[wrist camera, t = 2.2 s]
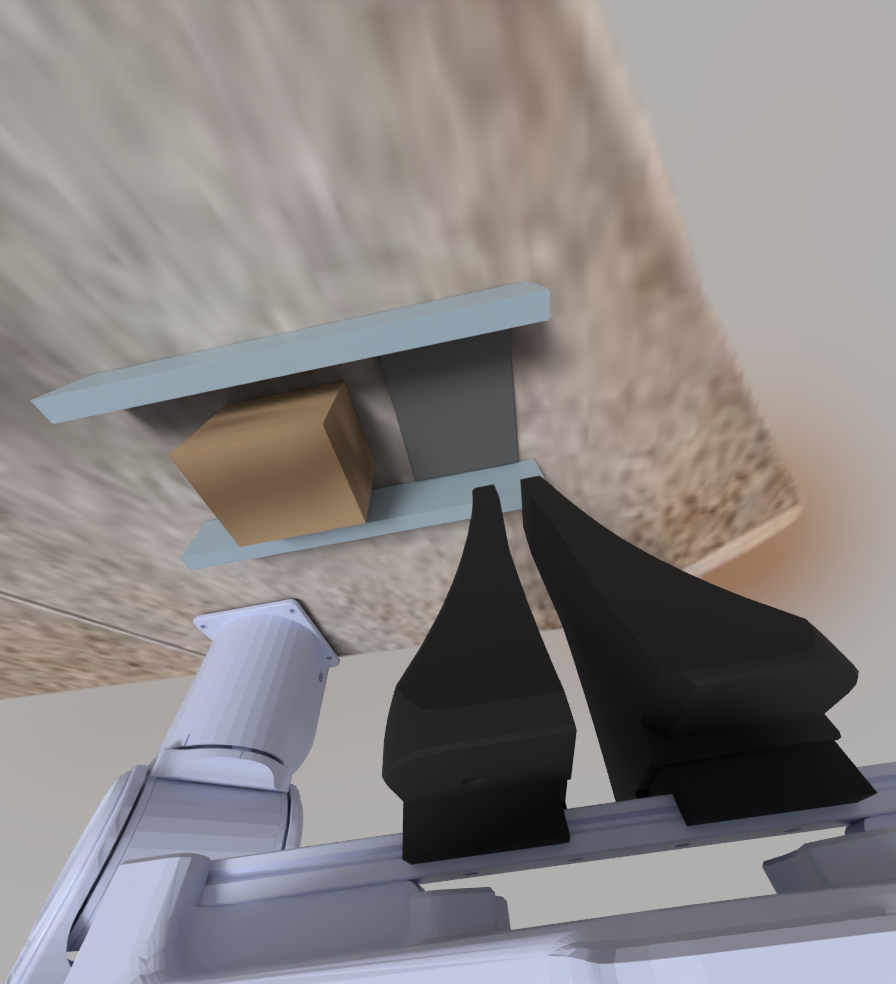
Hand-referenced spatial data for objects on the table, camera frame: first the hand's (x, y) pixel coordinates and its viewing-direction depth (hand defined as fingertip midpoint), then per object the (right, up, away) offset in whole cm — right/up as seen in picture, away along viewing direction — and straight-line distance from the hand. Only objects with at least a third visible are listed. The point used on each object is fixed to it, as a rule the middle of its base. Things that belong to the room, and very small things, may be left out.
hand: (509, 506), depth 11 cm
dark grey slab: (-2, +5, +7) cm, 8 cm away
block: (-9, +3, +7) cm, 12 cm away
